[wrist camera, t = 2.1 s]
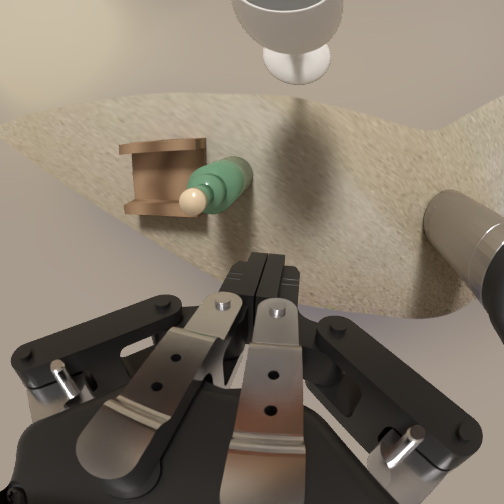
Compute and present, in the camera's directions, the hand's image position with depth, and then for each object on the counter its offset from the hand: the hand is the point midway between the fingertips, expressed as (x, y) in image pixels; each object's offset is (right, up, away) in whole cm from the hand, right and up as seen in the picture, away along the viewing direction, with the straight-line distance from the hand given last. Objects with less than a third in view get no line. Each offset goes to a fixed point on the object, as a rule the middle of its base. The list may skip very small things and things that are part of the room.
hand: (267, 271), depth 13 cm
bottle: (-3, +11, +24) cm, 27 cm away
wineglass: (+5, +26, +16) cm, 31 cm away
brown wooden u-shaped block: (-13, +12, +26) cm, 31 cm away
